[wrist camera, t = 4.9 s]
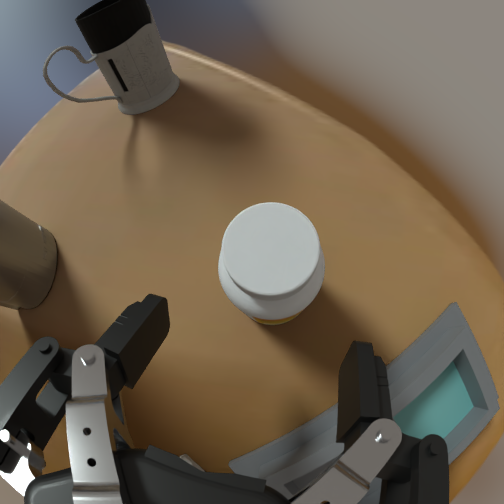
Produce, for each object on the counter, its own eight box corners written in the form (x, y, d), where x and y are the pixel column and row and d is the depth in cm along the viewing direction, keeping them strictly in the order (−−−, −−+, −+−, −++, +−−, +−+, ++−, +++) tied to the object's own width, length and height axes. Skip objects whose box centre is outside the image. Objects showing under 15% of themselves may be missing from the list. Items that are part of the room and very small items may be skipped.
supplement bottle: (322, 277, 20) (359, 225, 11) (284, 339, 19) (293, 341, 9) (261, 241, 21) (251, 167, 12) (222, 299, 20) (178, 266, 11)
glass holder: (193, 77, 29) (164, -20, 14) (115, 155, 26) (44, 56, 11) (149, 70, 31) (116, -9, 16) (80, 138, 28) (20, 61, 13)
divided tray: (304, 539, 12) (307, 559, 9) (229, 461, 16) (222, 479, 13) (493, 396, 14) (514, 399, 11) (451, 303, 18) (472, 296, 15)
